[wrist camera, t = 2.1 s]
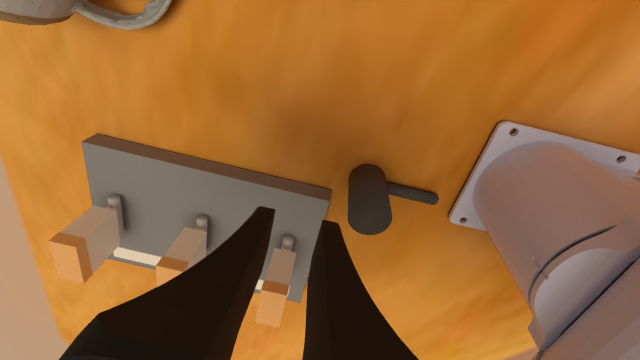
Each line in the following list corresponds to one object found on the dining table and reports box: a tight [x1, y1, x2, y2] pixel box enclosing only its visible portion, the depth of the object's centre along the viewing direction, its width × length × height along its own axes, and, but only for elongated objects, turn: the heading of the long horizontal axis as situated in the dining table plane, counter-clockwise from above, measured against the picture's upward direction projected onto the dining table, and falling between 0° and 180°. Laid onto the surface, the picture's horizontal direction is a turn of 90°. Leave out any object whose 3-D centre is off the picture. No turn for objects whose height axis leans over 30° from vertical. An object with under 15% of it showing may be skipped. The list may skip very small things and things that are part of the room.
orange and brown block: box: [156, 215, 208, 287], centre depth 22 cm, size 2×4×5 cm, turn 167°
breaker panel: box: [82, 134, 331, 303], centre depth 26 cm, size 17×11×2 cm, turn 77°
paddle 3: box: [49, 195, 124, 284], centre depth 22 cm, size 2×4×5 cm, turn 167°
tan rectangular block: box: [255, 235, 296, 328], centre depth 23 cm, size 2×4×5 cm, turn 167°
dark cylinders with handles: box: [348, 164, 439, 235], centre depth 25 cm, size 7×17×4 cm, turn 167°
